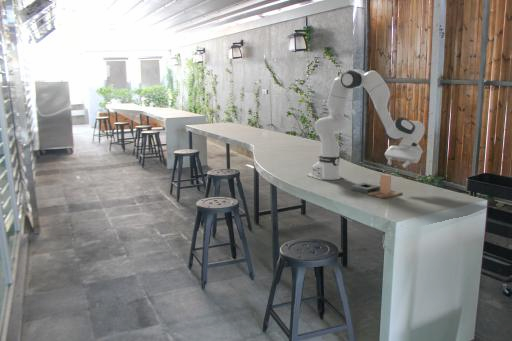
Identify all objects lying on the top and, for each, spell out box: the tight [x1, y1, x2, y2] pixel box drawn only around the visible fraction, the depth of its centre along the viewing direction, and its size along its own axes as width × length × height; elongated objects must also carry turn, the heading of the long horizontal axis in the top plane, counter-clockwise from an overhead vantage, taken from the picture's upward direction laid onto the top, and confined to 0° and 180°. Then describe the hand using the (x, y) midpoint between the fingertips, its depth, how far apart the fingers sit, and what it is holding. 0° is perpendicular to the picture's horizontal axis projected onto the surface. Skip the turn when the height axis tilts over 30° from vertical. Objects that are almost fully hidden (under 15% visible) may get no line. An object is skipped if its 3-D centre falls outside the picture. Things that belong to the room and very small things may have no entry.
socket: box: [350, 182, 380, 195], centre depth 261 cm, size 11×11×2 cm
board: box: [367, 189, 403, 200], centre depth 252 cm, size 11×16×1 cm
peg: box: [379, 173, 392, 194], centre depth 251 cm, size 4×4×10 cm
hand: (396, 165), depth 255 cm, fingers open, 8 cm apart
